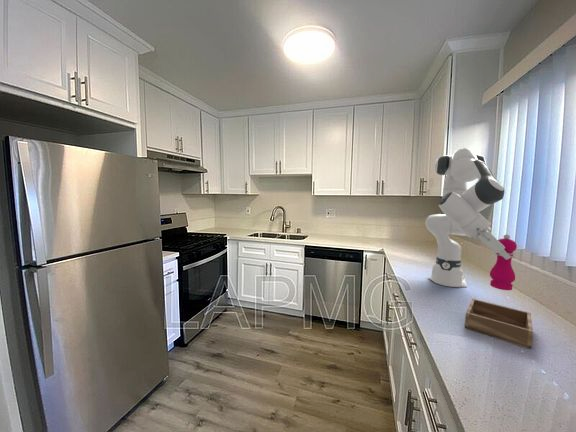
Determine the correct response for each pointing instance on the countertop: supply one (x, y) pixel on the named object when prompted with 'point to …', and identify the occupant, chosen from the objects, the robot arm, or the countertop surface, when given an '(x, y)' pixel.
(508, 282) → the pepper mill
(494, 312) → the tray
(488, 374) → the countertop surface
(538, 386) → the countertop surface
